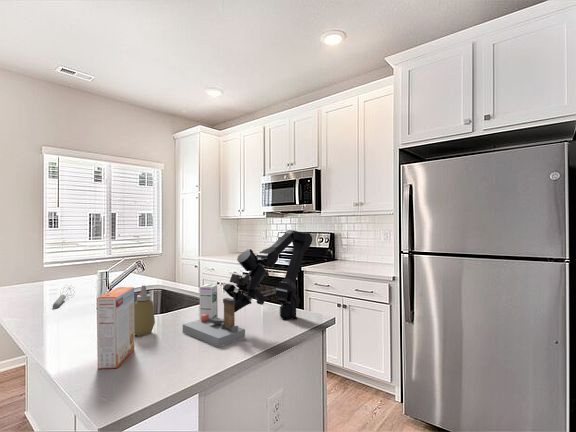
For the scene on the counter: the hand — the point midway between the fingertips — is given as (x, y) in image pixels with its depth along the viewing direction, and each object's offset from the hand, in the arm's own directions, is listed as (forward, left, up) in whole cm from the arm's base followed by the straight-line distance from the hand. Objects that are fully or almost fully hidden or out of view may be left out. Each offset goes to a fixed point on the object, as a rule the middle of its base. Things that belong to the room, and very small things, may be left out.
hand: (231, 313), depth 122 cm
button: (+9, -12, -6) cm, 16 cm away
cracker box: (+36, +11, -9) cm, 38 cm away
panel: (+6, -4, -9) cm, 12 cm away
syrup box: (+8, -24, -9) cm, 27 cm away
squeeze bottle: (+32, -11, -9) cm, 35 cm away
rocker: (+5, -6, -5) cm, 10 cm away
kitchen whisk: (+80, -72, -9) cm, 108 cm away
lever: (+1, +1, -5) cm, 5 cm away
